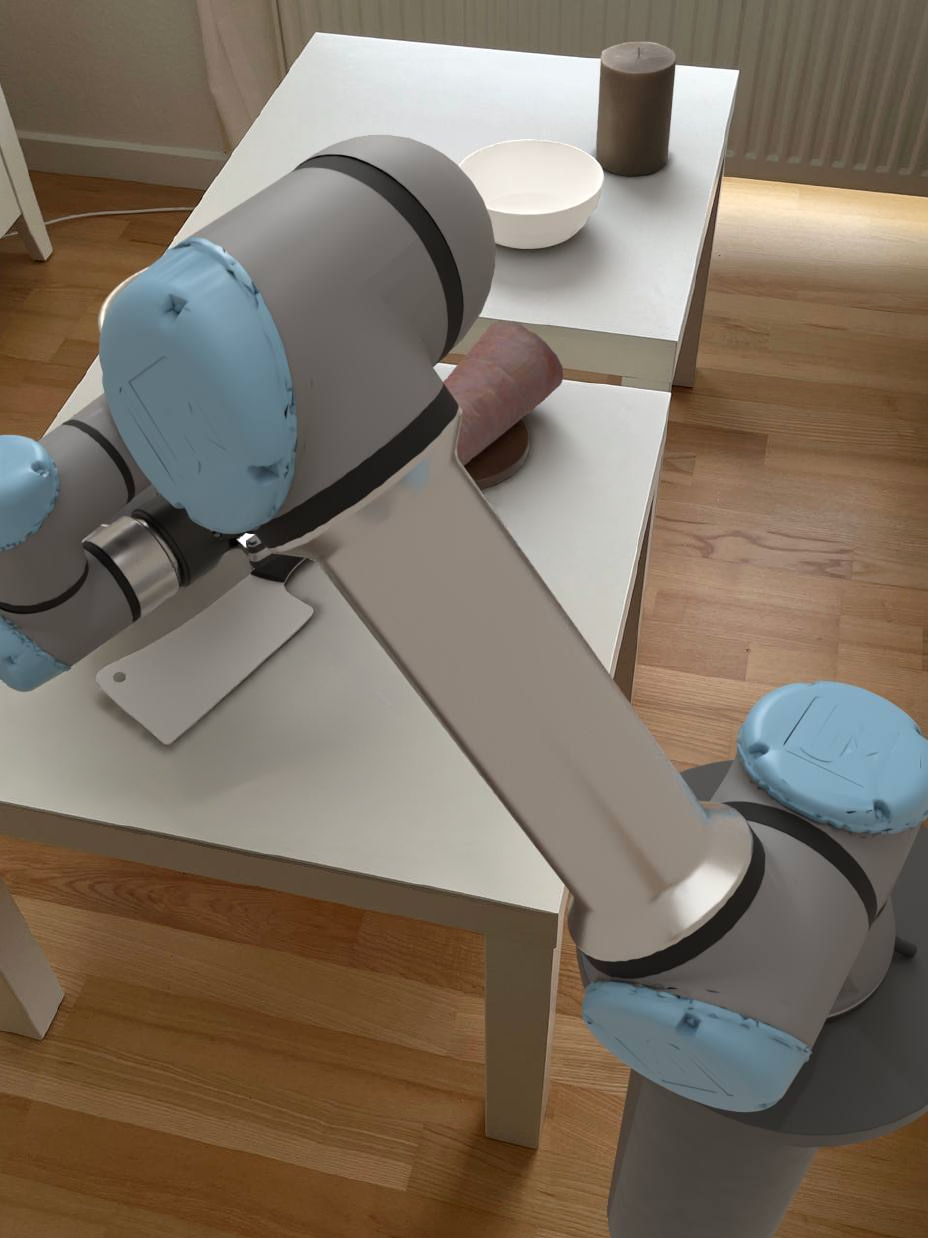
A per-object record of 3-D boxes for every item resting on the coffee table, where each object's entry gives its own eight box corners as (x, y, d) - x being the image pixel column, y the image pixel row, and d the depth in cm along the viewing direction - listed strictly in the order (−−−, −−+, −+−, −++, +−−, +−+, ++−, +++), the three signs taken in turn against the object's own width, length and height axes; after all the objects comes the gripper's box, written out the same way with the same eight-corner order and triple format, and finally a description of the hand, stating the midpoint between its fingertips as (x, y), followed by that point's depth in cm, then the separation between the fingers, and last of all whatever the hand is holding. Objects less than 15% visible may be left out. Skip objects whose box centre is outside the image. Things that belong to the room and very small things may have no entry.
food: (488, 375, 135) (487, 304, 128) (564, 402, 132) (567, 331, 125) (376, 488, 123) (369, 416, 117) (457, 521, 120) (454, 449, 113)
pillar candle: (659, 180, 164) (669, 66, 153) (587, 171, 166) (592, 58, 155) (674, 145, 170) (685, 33, 159) (604, 137, 172) (610, 26, 161)
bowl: (628, 244, 154) (632, 190, 148) (495, 283, 149) (494, 229, 144) (557, 179, 165) (559, 126, 160) (432, 213, 160) (429, 160, 155)
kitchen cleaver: (166, 741, 103) (85, 675, 107) (168, 752, 105) (88, 687, 108) (410, 533, 119) (333, 482, 123) (410, 545, 121) (333, 494, 124)
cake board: (554, 431, 130) (554, 422, 129) (481, 509, 122) (481, 500, 122) (442, 389, 136) (442, 379, 135) (366, 461, 128) (366, 452, 127)
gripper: (77, 517, 110) (260, 403, 120) (261, 659, 98) (447, 520, 108) (54, 451, 104) (248, 338, 115) (246, 594, 93) (443, 453, 103)
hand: (345, 426), depth 111 cm, fingers open, 13 cm apart
